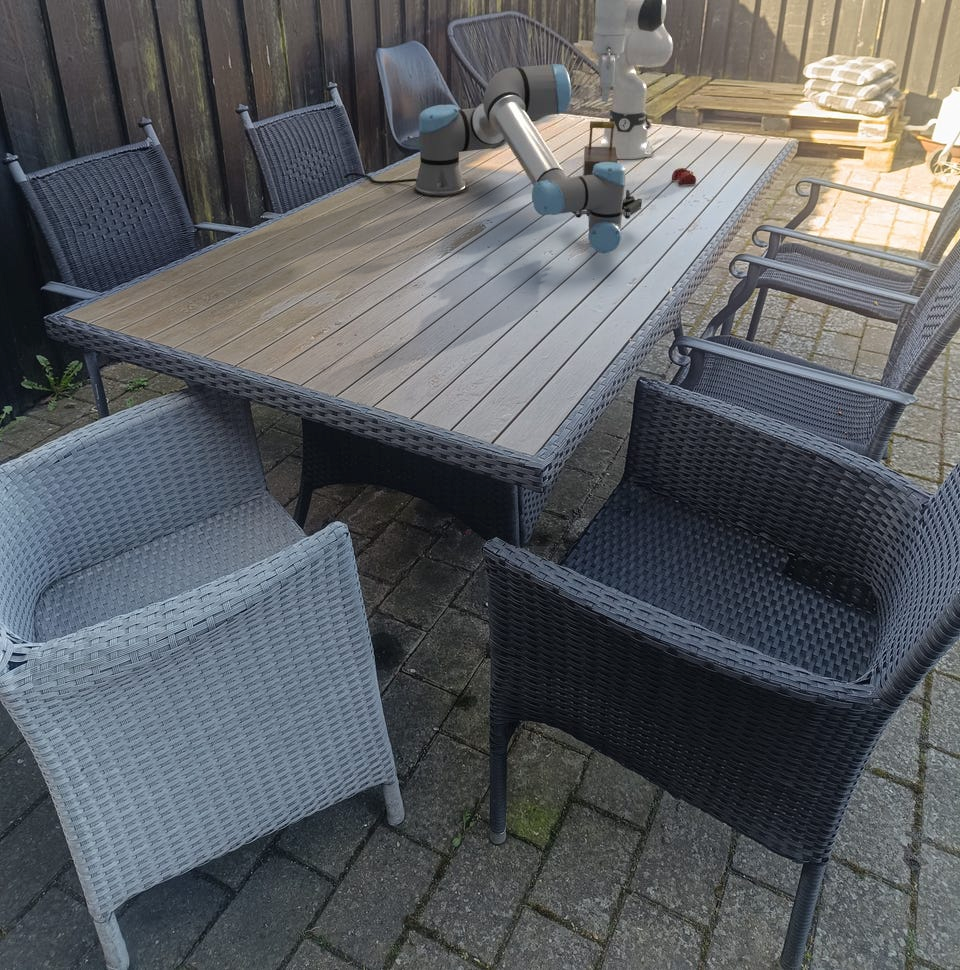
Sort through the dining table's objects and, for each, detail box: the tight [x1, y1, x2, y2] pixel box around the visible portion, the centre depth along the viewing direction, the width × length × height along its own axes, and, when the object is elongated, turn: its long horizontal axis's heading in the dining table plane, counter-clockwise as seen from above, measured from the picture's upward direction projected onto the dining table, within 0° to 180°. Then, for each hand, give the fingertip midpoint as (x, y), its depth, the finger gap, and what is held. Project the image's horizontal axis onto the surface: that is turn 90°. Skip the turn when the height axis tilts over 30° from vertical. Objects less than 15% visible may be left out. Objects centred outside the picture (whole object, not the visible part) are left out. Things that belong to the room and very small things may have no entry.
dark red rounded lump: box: [671, 167, 697, 186], centre depth 263 cm, size 6×4×8 cm
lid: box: [583, 120, 619, 166], centre depth 247 cm, size 17×9×9 cm, turn 174°
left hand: (601, 194), depth 227 cm, fingers open, 13 cm apart
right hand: (604, 98), depth 245 cm, fingers open, 8 cm apart
